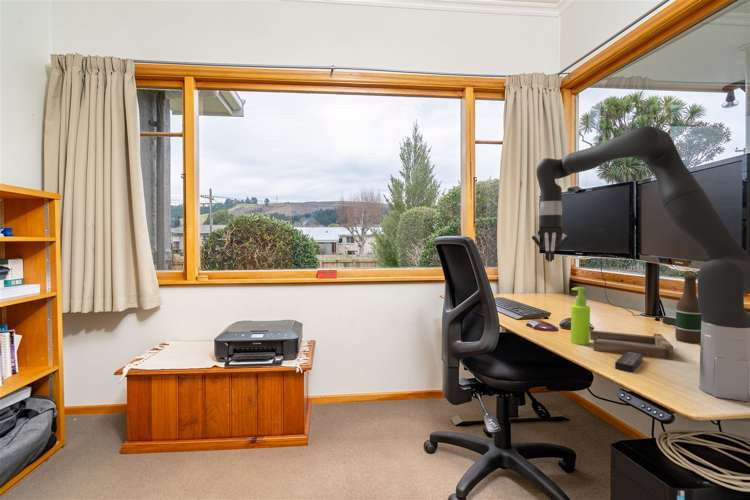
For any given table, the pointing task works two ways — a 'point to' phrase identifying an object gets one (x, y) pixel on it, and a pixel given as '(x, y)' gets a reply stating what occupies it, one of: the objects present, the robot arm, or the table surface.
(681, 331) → the beer bottle
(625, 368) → the multiport hub
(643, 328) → the table surface
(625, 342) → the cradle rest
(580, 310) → the soap dispenser
